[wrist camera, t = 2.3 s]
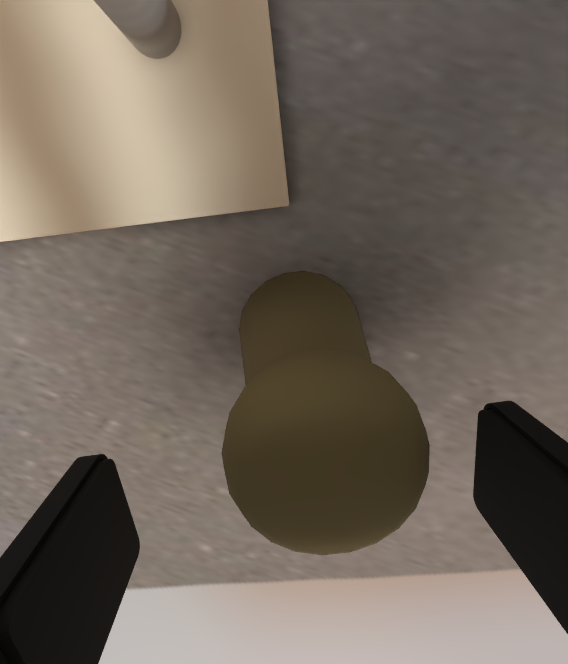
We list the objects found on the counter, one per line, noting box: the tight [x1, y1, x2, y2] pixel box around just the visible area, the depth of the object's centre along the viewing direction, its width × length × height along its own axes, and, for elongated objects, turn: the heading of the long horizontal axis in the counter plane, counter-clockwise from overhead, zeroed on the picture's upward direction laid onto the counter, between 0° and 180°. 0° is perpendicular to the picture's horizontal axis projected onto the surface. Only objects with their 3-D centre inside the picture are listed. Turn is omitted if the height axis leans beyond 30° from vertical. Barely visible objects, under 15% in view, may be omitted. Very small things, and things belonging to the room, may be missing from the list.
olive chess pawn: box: [222, 271, 430, 555], centre depth 13 cm, size 6×6×11 cm
